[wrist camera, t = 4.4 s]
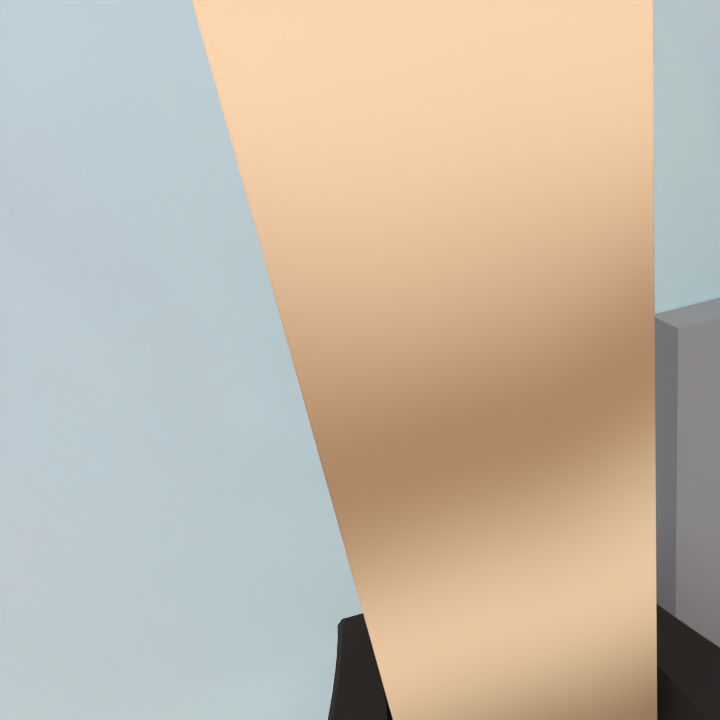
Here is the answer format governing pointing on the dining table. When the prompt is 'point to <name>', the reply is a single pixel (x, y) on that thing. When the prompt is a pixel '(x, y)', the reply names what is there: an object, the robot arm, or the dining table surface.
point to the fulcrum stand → (688, 465)
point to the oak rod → (468, 327)
